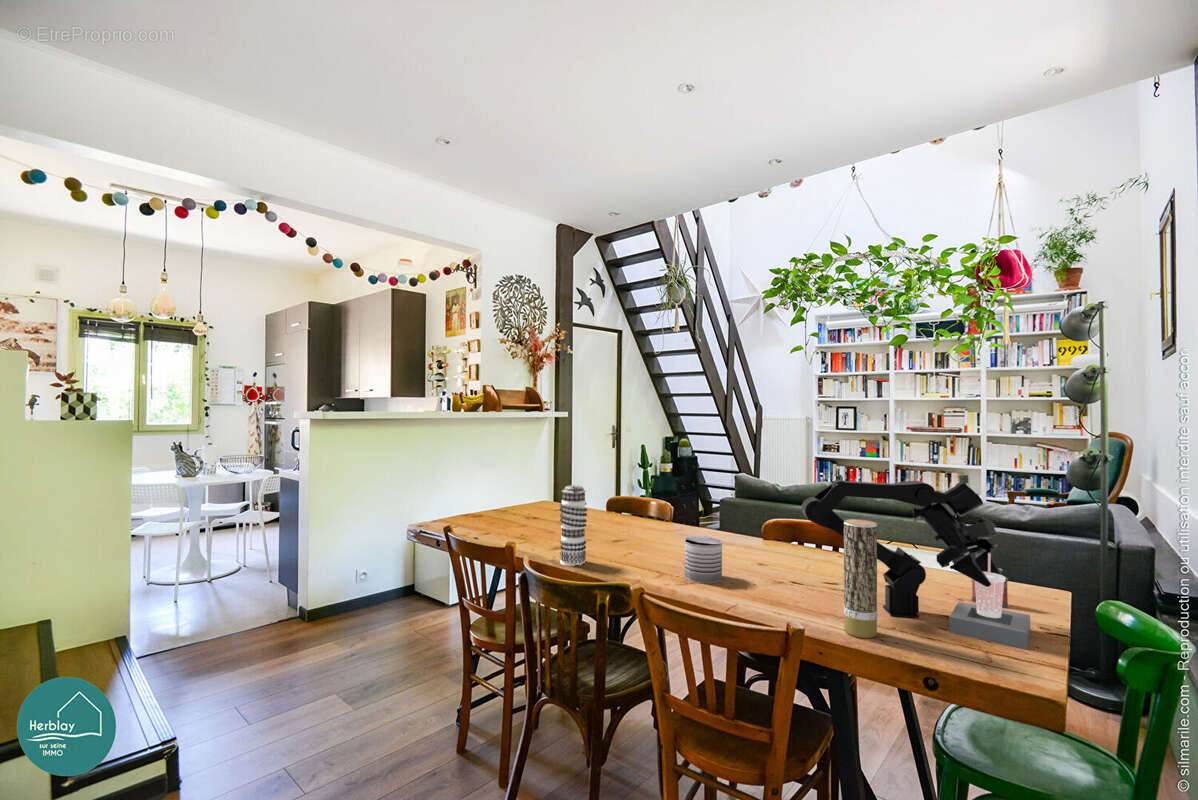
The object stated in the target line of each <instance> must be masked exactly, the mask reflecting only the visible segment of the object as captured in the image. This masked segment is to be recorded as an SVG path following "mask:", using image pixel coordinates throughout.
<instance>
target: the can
mask: <svg viewBox="0 0 1198 800" xmlns="http://www.w3.org/2000/svg"><path fill="white" fill-rule="evenodd" d="M683 537H684V538H685V541H684V579H686V578H687V579H686V580H687V581H689V580H690V582H692V581H694V582H693V583H697V582H699V583H698V584H716V583H719V582H720V583H721V582H722V580H723V543H724V542H723V540H721V539H717V538H713V537H709V536H702V535H684V536H683Z"/></svg>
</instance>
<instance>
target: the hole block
mask: <svg viewBox="0 0 1198 800" xmlns="http://www.w3.org/2000/svg"><path fill="white" fill-rule="evenodd" d="M948 619H949V621H948V626H949V627H948V629H949V631H948V633H949V634H950V633H952V634H956V635H960V636H964V637H968V638H973V639H978V640H982V641H987V642H992V643H996V644H999V645H1004V646H1009V647H1013V648H1018V649H1023V650H1027V649H1028V645H1029V644H1028V643H1029V638H1030V634H1031V614H1026V613H1021V612H1016V611H1011V610H1010V611H1009V610H1005V609H1002V613H1001V617H1000V618H990V617H986V616H982V615H980V614H978V613H977V607H976V604H974V603H968V602H963V601H958V602H957V604H955V607H954V608H953V610H952V611H951V613H950V615H949V617H948Z"/></svg>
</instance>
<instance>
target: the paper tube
mask: <svg viewBox="0 0 1198 800" xmlns="http://www.w3.org/2000/svg"><path fill="white" fill-rule="evenodd" d="M843 520H844V537H843V629H844V631H845V632H846V633H847V634H848V635H850V636H853V637H856V638H859V639H861V638H862V639H873V638H875V637H876V636H877V635H878V559H877V542H878V523H877V522H876V521H875V522H874V521H871V520H867V519H866V520H865V519H855V518H851V519H843Z"/></svg>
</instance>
